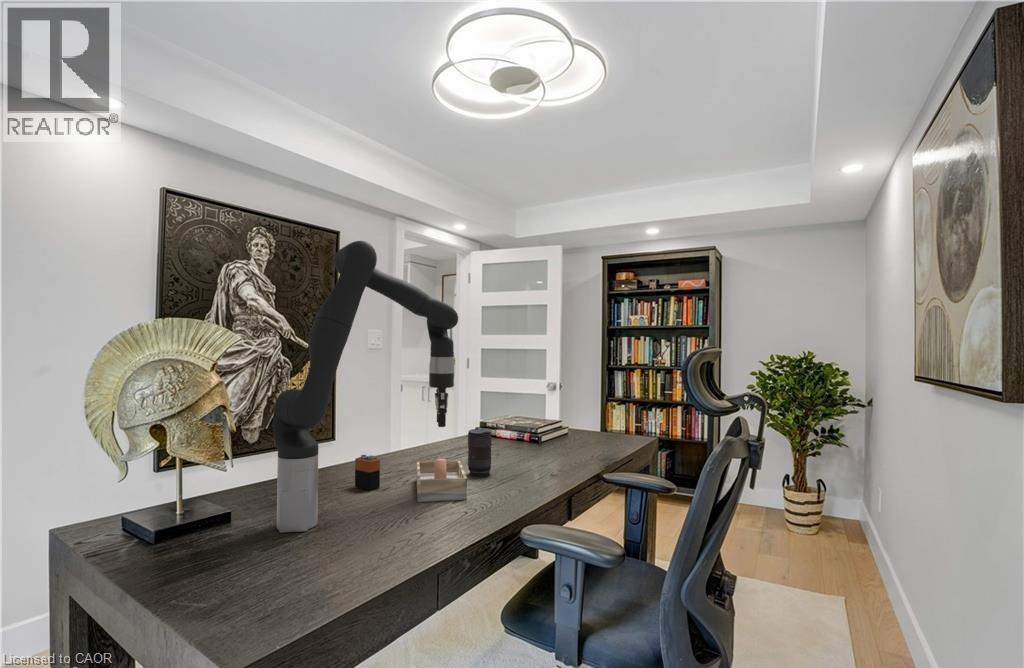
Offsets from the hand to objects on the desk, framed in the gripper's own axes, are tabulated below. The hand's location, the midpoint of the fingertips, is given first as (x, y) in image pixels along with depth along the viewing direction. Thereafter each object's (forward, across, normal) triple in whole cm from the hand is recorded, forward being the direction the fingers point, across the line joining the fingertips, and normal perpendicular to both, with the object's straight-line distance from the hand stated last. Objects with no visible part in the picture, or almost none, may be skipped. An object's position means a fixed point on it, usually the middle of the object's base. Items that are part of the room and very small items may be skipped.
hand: (441, 424), depth 157 cm
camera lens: (+20, +15, -14) cm, 29 cm away
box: (+20, 0, 0) cm, 20 cm away
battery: (+20, +5, +22) cm, 30 cm away
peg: (+20, 0, 0) cm, 20 cm away
